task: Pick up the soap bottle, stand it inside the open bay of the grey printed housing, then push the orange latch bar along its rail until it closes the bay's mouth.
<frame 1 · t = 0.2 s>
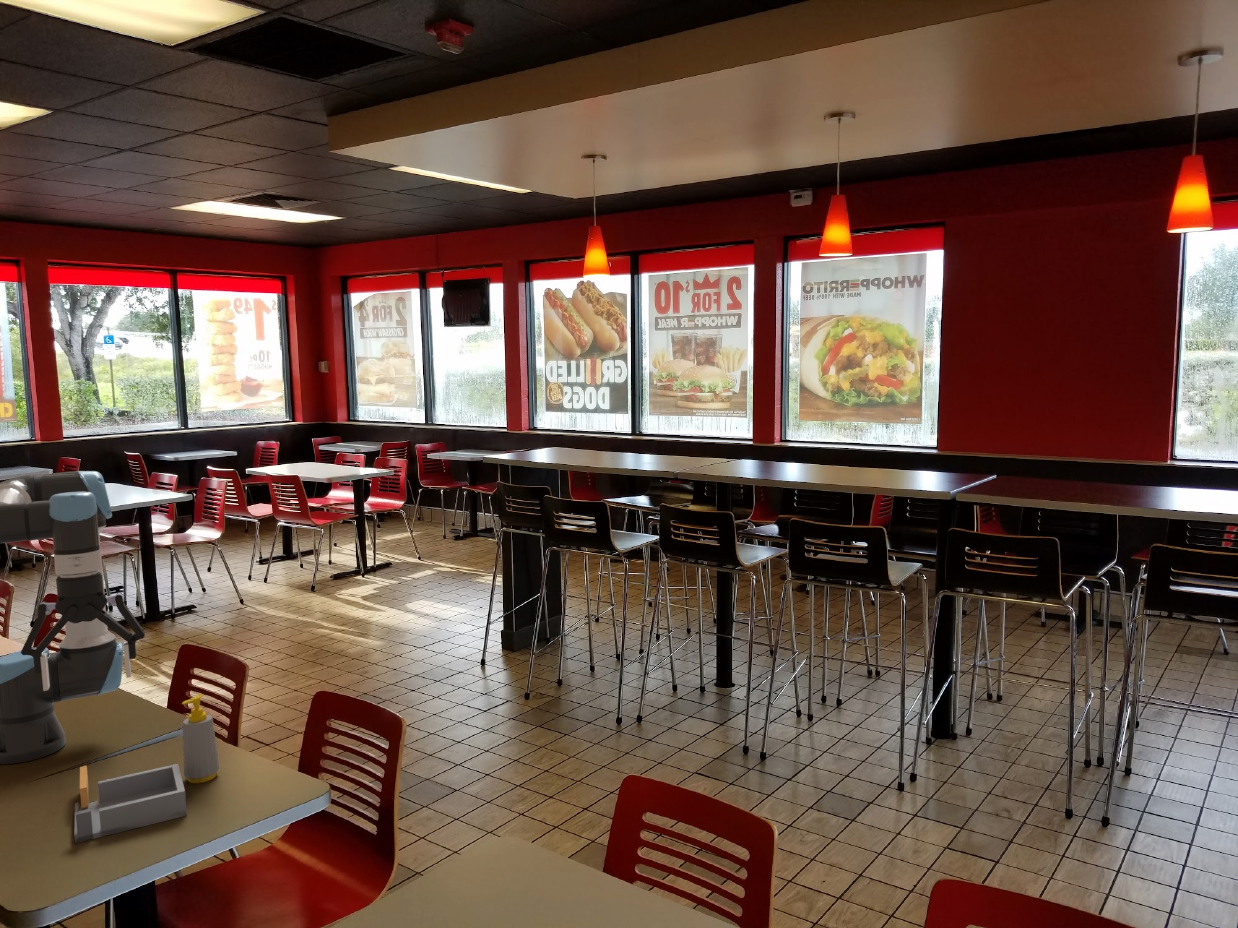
hand: (88, 682, 169), 28 cm above the table, fingers open, 13 cm apart
housing: (141, 810, 175), on the table
latch: (84, 786, 179), point 3 cm above the table, slide at 0.0 cm
soap bottle: (202, 778, 189), on the table
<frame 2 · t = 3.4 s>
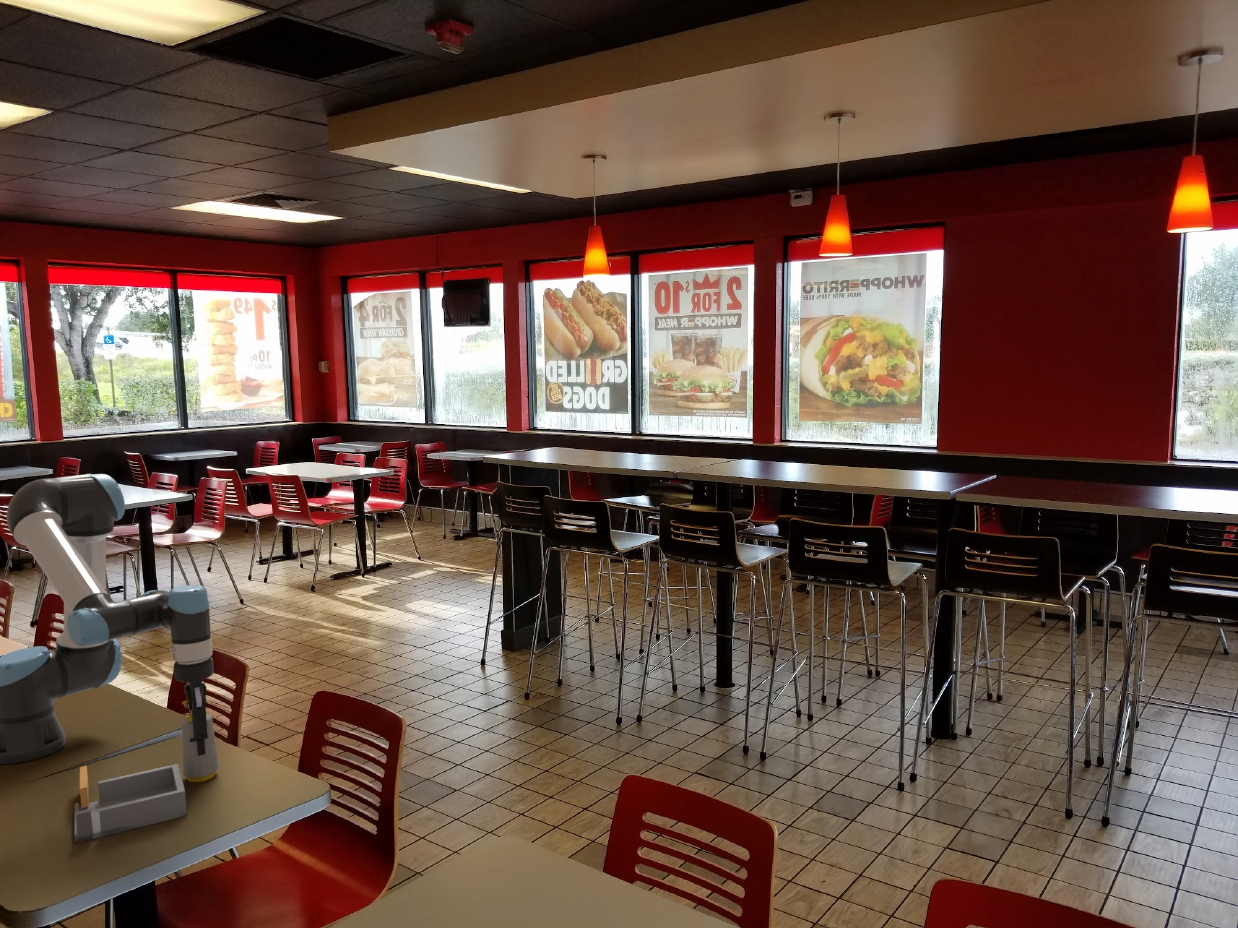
hand: (201, 765, 189), 3 cm above the table, fingers closed on soap bottle, 2 cm apart
soap bottle: (201, 777, 190), on the table, touching gripper
everything else where it was.
when the fingers open (5 cm above the table, at t = 7.7 s): soap bottle moves 4 cm, resting on hand, housing.
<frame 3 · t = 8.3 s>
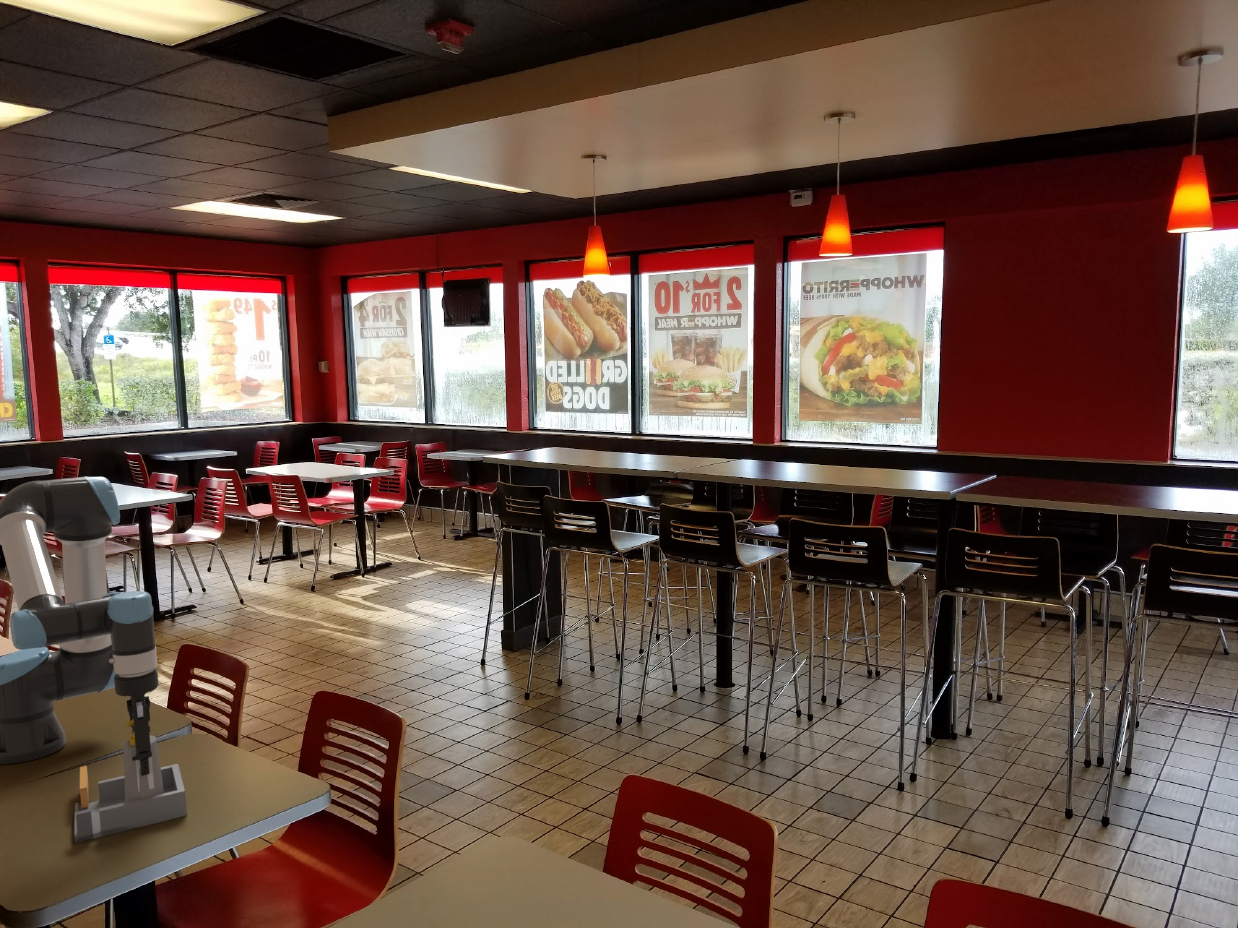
hand: (144, 777, 175), 6 cm above the table, fingers open, 11 cm apart
soap bottle: (145, 804, 173), point 2 cm above the table, touching gripper, hand, housing
everything else where it was.
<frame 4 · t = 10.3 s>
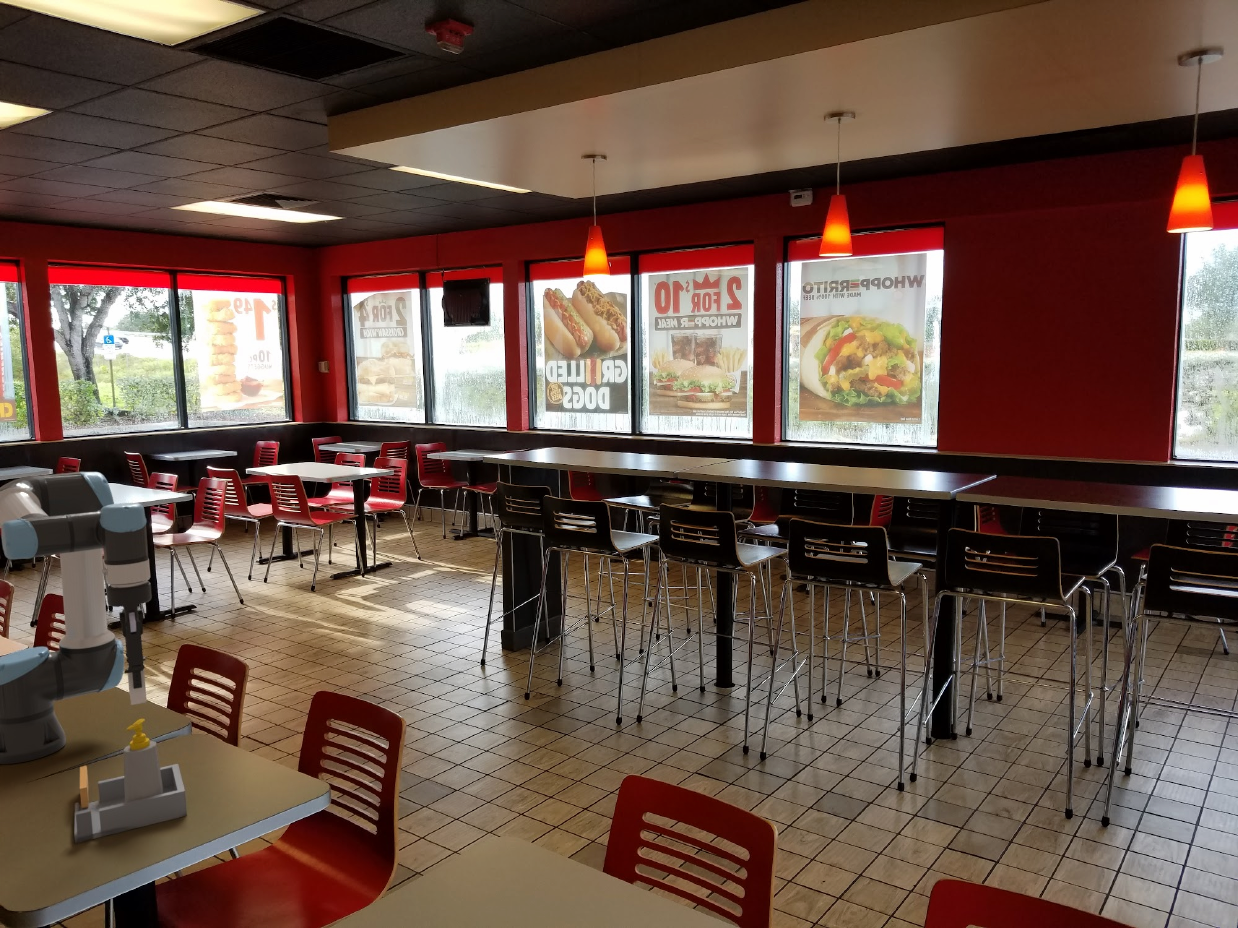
hand: (138, 698, 173), 23 cm above the table, fingers open, 4 cm apart
soap bottle: (145, 811, 173), point 1 cm above the table, touching housing
everything else where it was.
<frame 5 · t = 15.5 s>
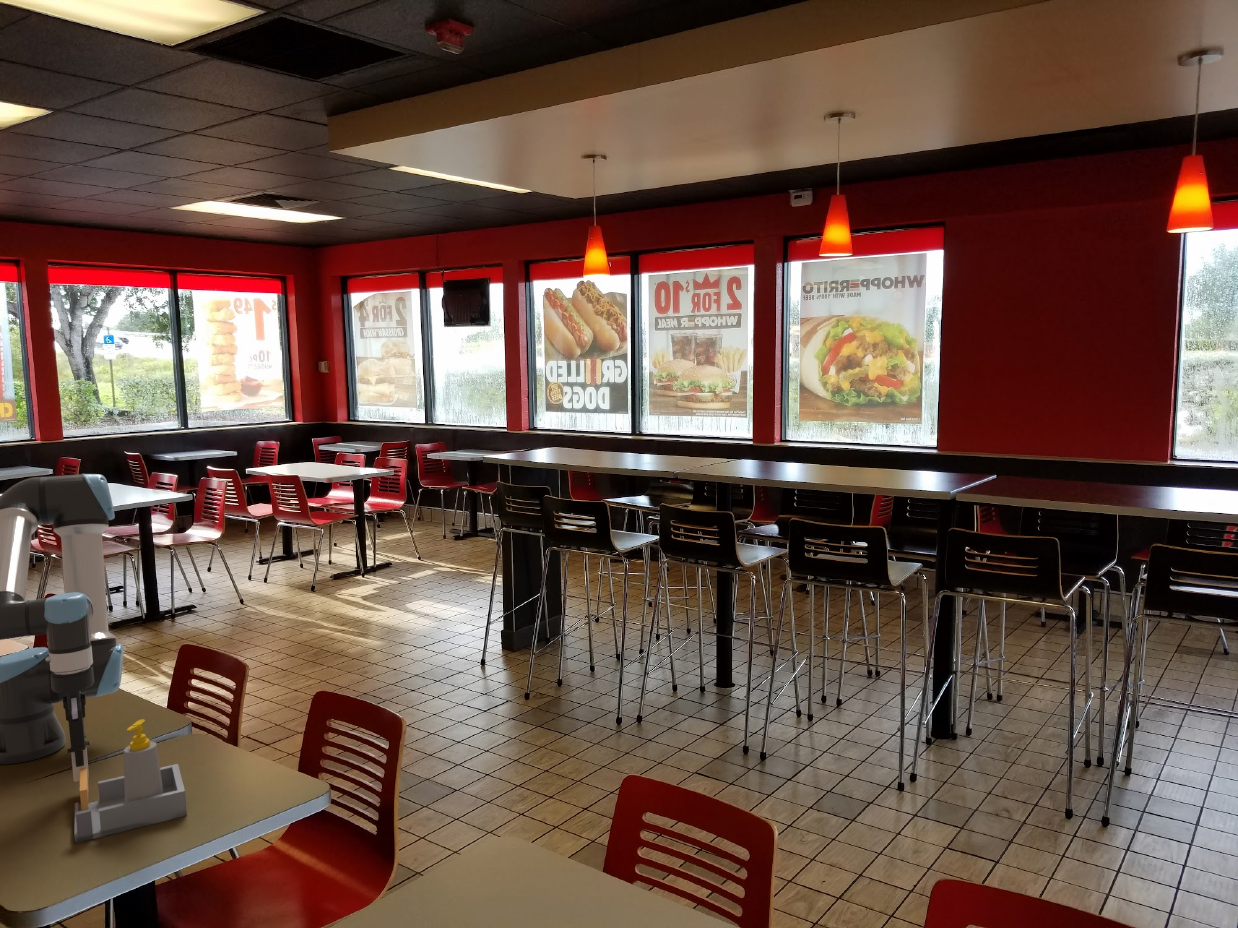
hand: (81, 778, 184), 3 cm above the table, fingers closed
latch: (84, 788, 178), point 3 cm above the table, slide at 1.1 cm, touching gripper
everything else where it was.
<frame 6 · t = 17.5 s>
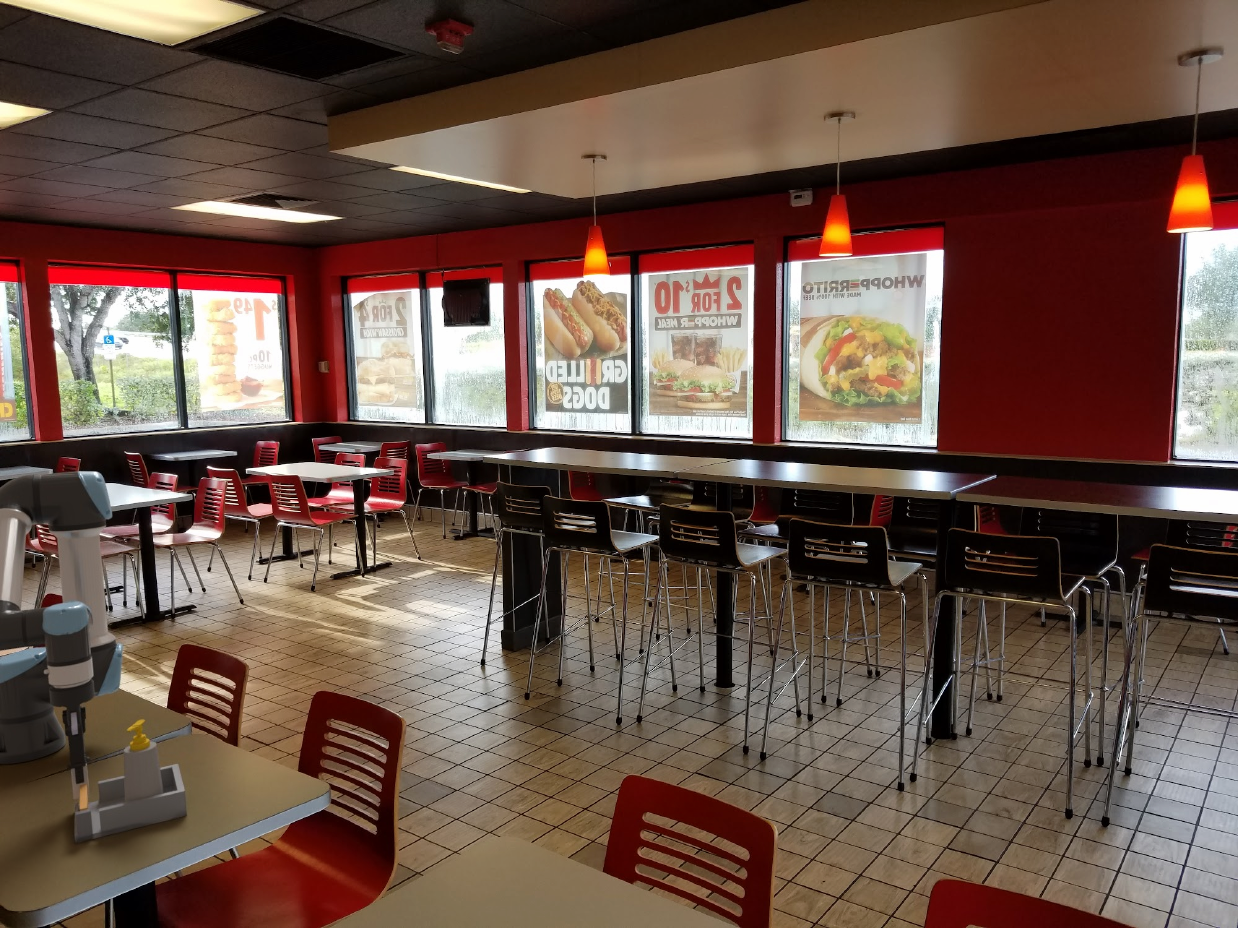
hand: (81, 796, 176), 3 cm above the table, fingers closed
latch: (84, 805, 171), point 3 cm above the table, slide at 10.1 cm, touching gripper
everything else where it was.
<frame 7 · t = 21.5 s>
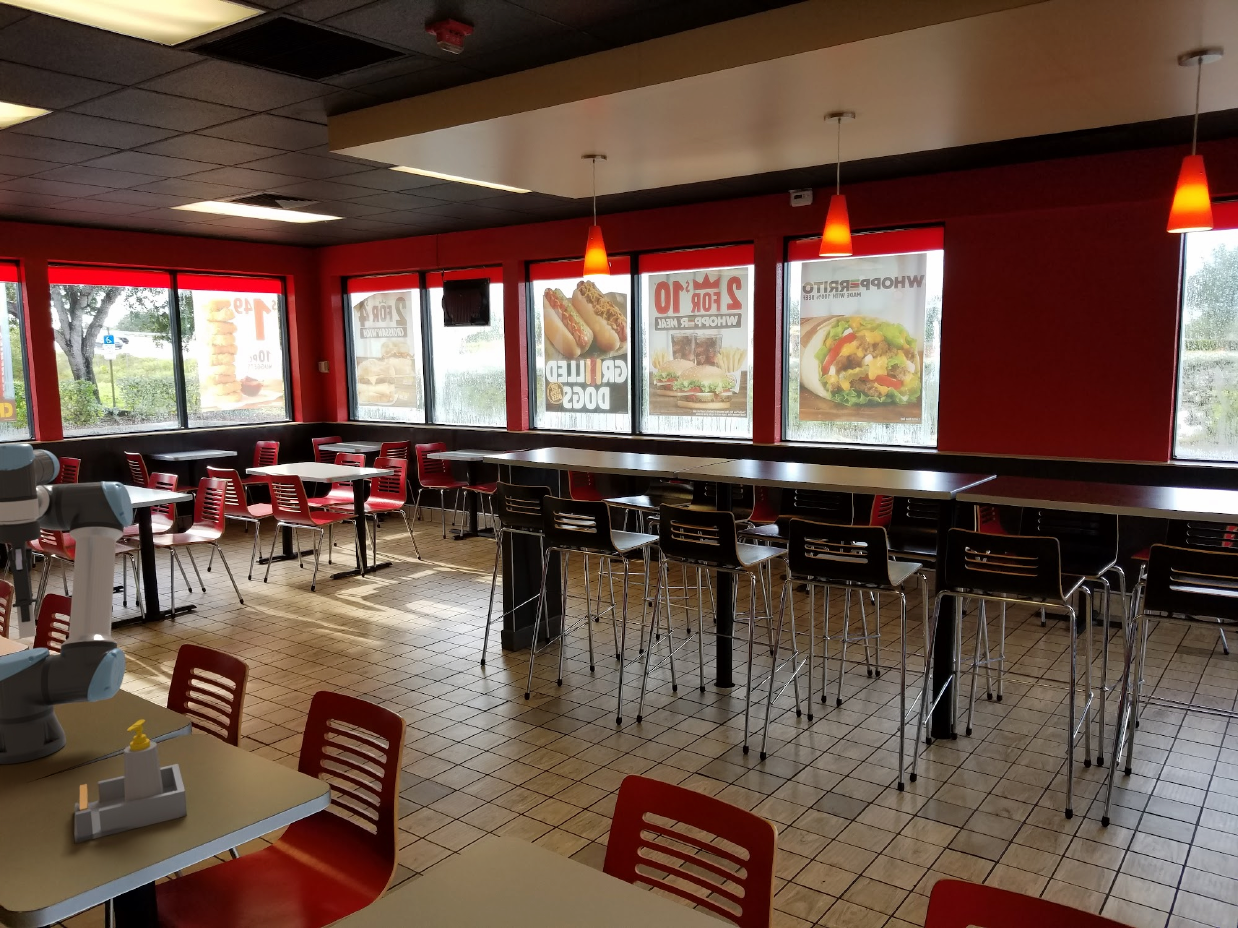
hand: (27, 636, 178), 34 cm above the table, fingers closed
latch: (84, 805, 171), point 3 cm above the table, slide at 10.2 cm
everything else where it was.
at the end: soap bottle inside the target area on the housing (2.9 cm from its centre), point 0.8 cm above the housing's base; soap bottle tilted 0°; latch slide at 10.2 cm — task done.
